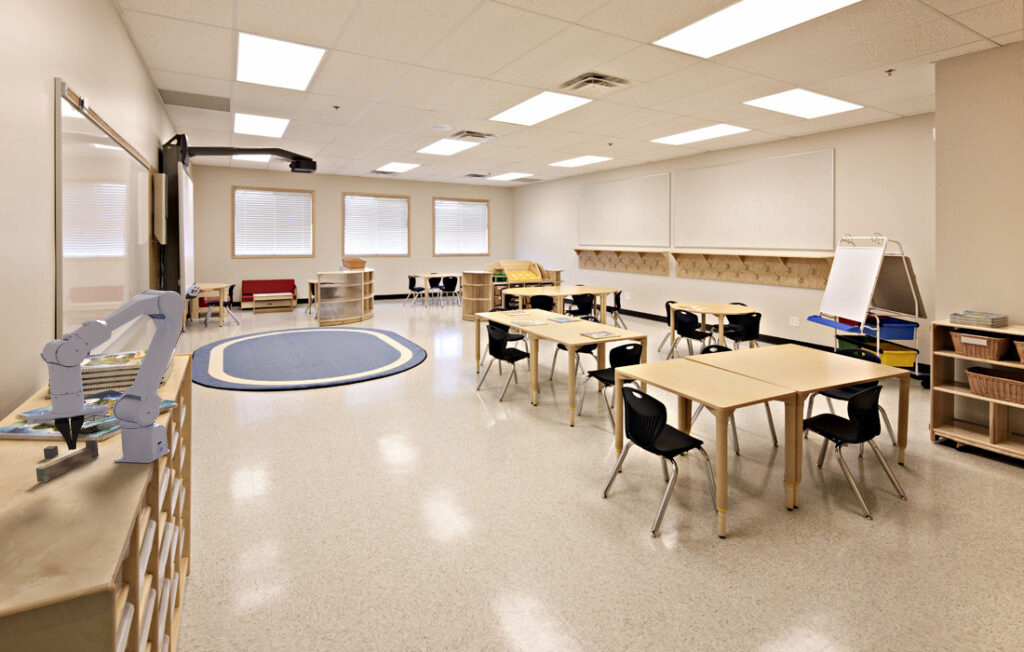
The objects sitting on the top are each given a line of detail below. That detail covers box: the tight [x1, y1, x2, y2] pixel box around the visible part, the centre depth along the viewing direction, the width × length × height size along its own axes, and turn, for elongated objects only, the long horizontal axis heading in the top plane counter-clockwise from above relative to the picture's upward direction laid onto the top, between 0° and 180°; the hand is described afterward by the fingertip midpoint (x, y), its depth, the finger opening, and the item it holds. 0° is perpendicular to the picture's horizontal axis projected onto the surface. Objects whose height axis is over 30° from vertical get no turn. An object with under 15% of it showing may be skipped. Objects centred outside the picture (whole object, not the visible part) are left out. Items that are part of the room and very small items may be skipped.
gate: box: [35, 437, 99, 483], centre depth 132 cm, size 16×2×5 cm, turn 178°
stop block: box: [43, 445, 59, 459], centre depth 140 cm, size 2×2×2 cm
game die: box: [84, 400, 110, 422], centre depth 161 cm, size 9×8×10 cm
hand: (72, 448), depth 126 cm, fingers closed
